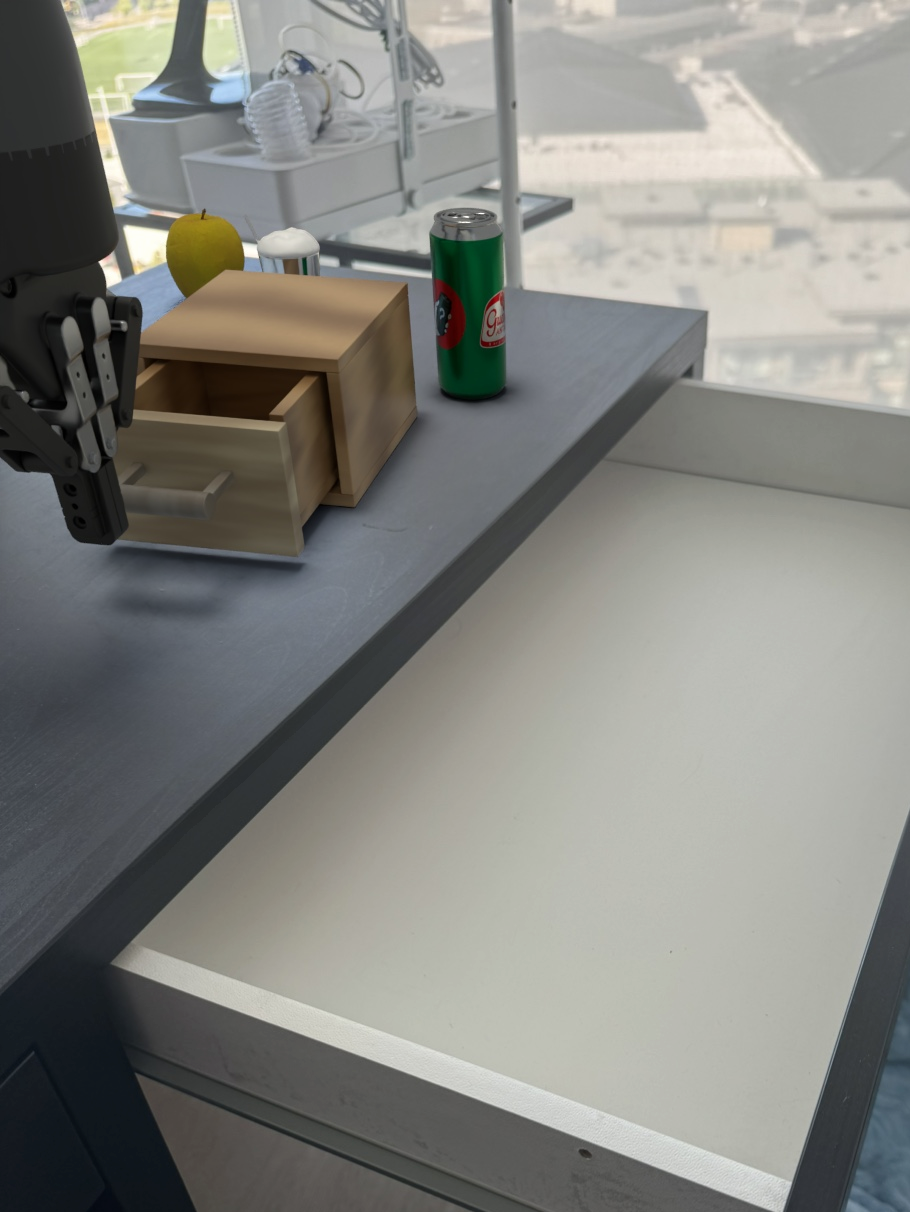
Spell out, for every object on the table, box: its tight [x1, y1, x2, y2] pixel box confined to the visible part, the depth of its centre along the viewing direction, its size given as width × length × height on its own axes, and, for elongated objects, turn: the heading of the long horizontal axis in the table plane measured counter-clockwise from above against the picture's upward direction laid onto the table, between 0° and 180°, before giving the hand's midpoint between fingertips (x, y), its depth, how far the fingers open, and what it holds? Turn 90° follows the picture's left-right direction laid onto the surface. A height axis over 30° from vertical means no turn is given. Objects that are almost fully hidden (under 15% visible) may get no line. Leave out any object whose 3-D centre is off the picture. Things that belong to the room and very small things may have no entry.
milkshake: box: [243, 214, 321, 276], centre depth 88 cm, size 4×5×10 cm
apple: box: [165, 208, 246, 300], centre depth 98 cm, size 6×6×8 cm
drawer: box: [113, 359, 339, 558], centre depth 67 cm, size 18×11×7 cm, turn 171°
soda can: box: [428, 207, 508, 401], centre depth 83 cm, size 5×5×12 cm
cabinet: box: [137, 270, 418, 508], centre depth 75 cm, size 15×13×9 cm
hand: (101, 537), depth 55 cm, fingers closed
